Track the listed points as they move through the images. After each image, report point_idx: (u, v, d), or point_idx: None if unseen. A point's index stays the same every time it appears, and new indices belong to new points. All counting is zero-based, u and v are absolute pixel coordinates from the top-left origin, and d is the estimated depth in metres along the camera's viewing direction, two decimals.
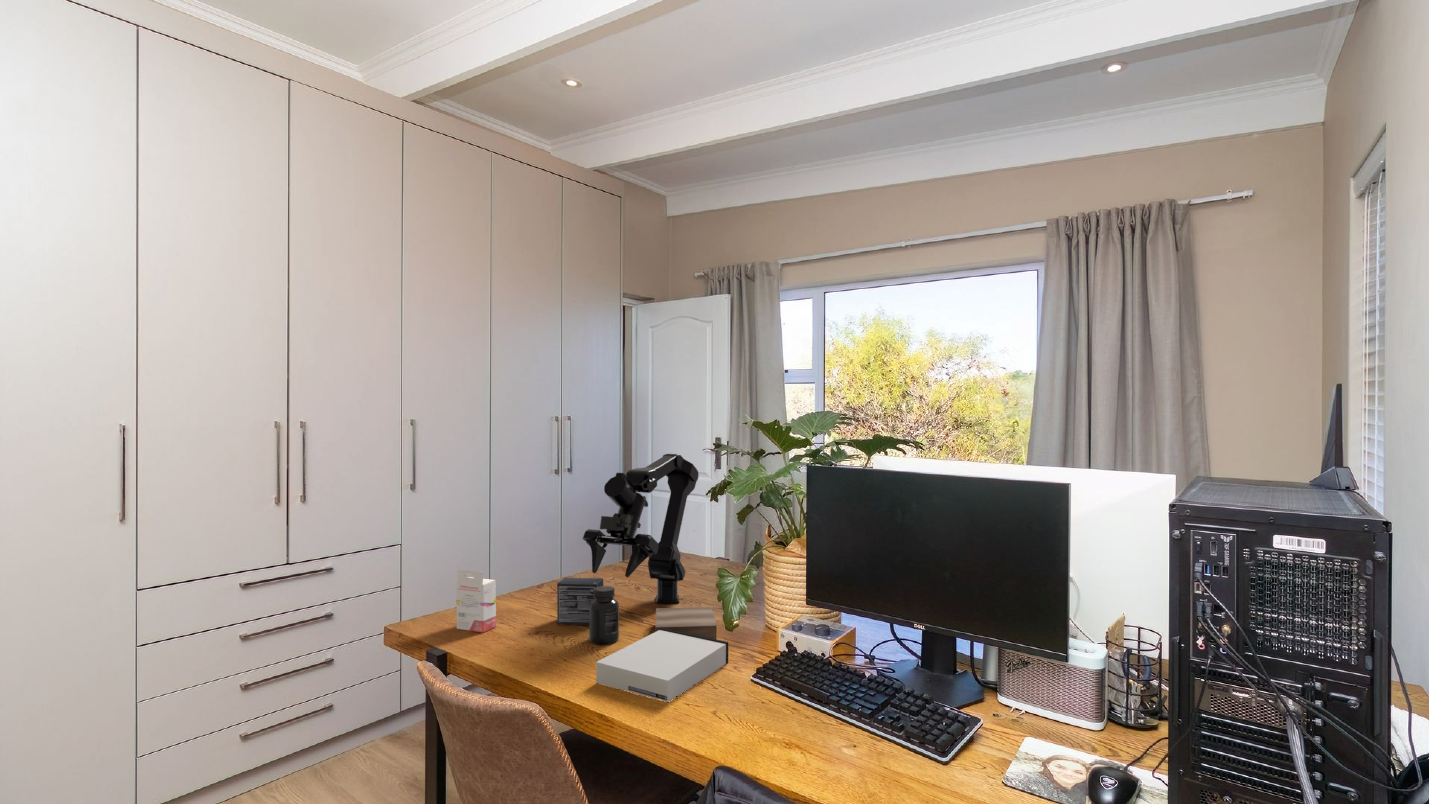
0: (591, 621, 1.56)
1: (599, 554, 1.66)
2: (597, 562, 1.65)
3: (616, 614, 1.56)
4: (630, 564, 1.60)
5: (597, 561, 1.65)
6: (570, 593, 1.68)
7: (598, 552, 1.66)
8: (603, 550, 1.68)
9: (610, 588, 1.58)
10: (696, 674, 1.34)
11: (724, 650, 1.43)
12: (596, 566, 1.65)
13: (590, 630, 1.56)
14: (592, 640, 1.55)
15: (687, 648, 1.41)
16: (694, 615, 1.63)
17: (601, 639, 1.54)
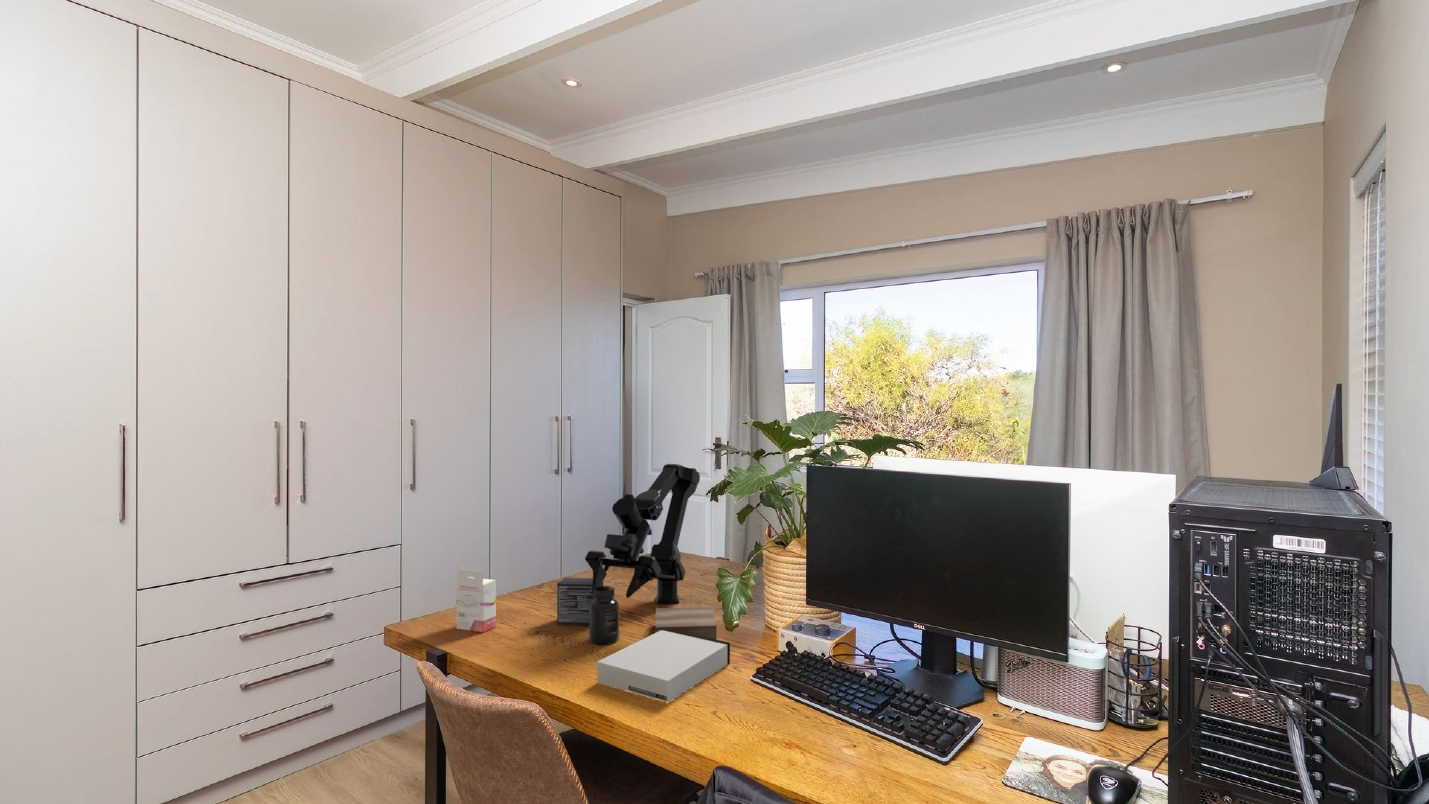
0: (591, 621, 1.56)
1: (600, 575, 1.65)
2: (597, 583, 1.64)
3: (616, 614, 1.56)
4: (632, 584, 1.59)
5: (598, 582, 1.64)
6: (570, 593, 1.68)
7: (599, 573, 1.65)
8: (604, 573, 1.68)
9: (610, 588, 1.58)
10: (697, 675, 1.33)
11: (725, 651, 1.43)
12: (596, 587, 1.63)
13: (590, 630, 1.56)
14: (592, 640, 1.55)
15: (689, 648, 1.41)
16: (694, 615, 1.63)
17: (601, 639, 1.54)
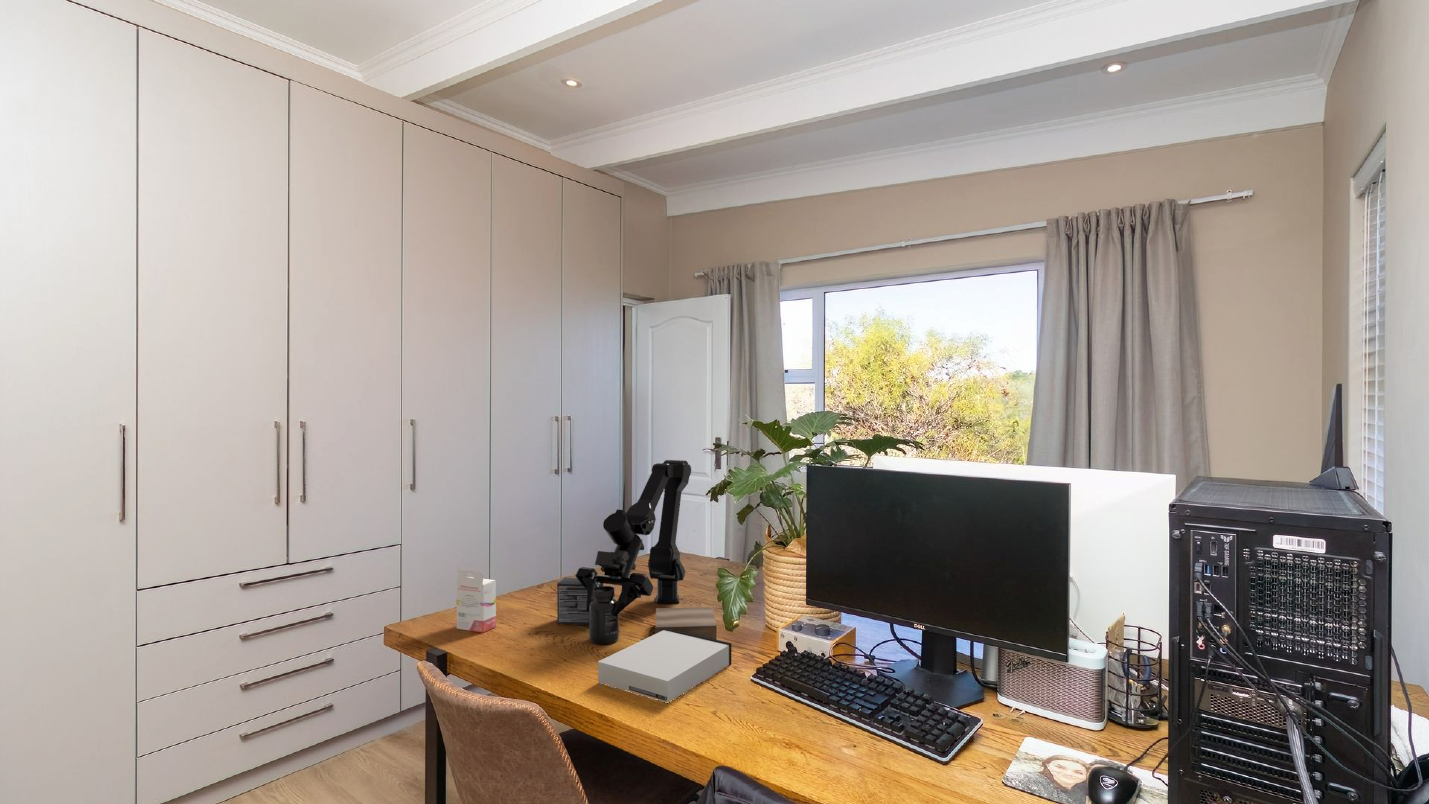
0: (591, 621, 1.56)
1: None
2: None
3: None
4: (619, 602, 1.56)
5: None
6: (570, 593, 1.68)
7: None
8: None
9: (610, 588, 1.58)
10: (697, 675, 1.33)
11: (727, 651, 1.43)
12: None
13: (590, 630, 1.56)
14: (592, 640, 1.55)
15: (690, 649, 1.41)
16: (694, 615, 1.63)
17: (601, 639, 1.54)
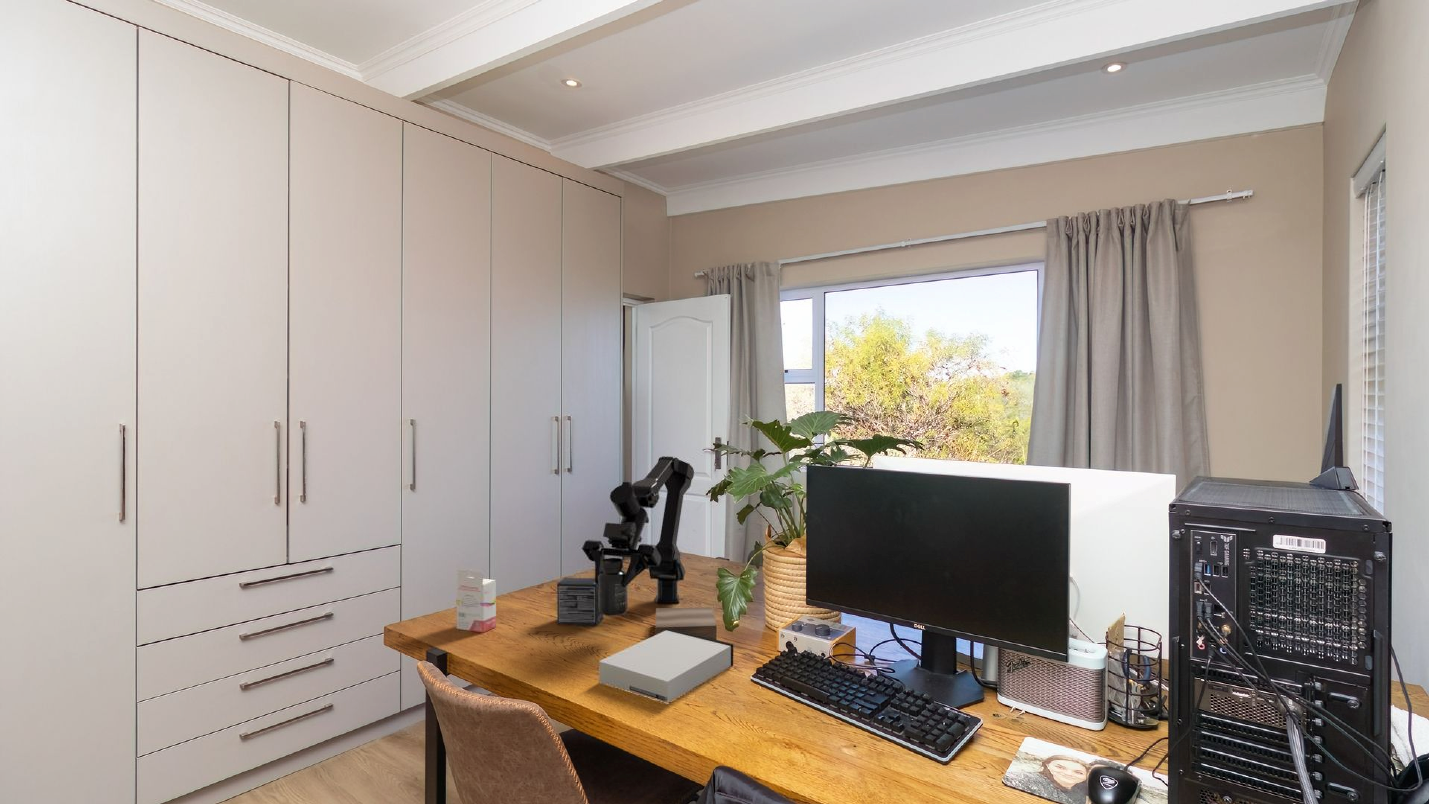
0: (600, 592, 1.56)
1: None
2: None
3: None
4: (628, 573, 1.56)
5: None
6: (570, 593, 1.68)
7: (601, 563, 1.61)
8: None
9: (618, 559, 1.58)
10: (698, 676, 1.33)
11: (729, 652, 1.42)
12: None
13: (599, 601, 1.56)
14: (601, 611, 1.55)
15: (691, 649, 1.40)
16: (694, 615, 1.63)
17: (611, 610, 1.55)
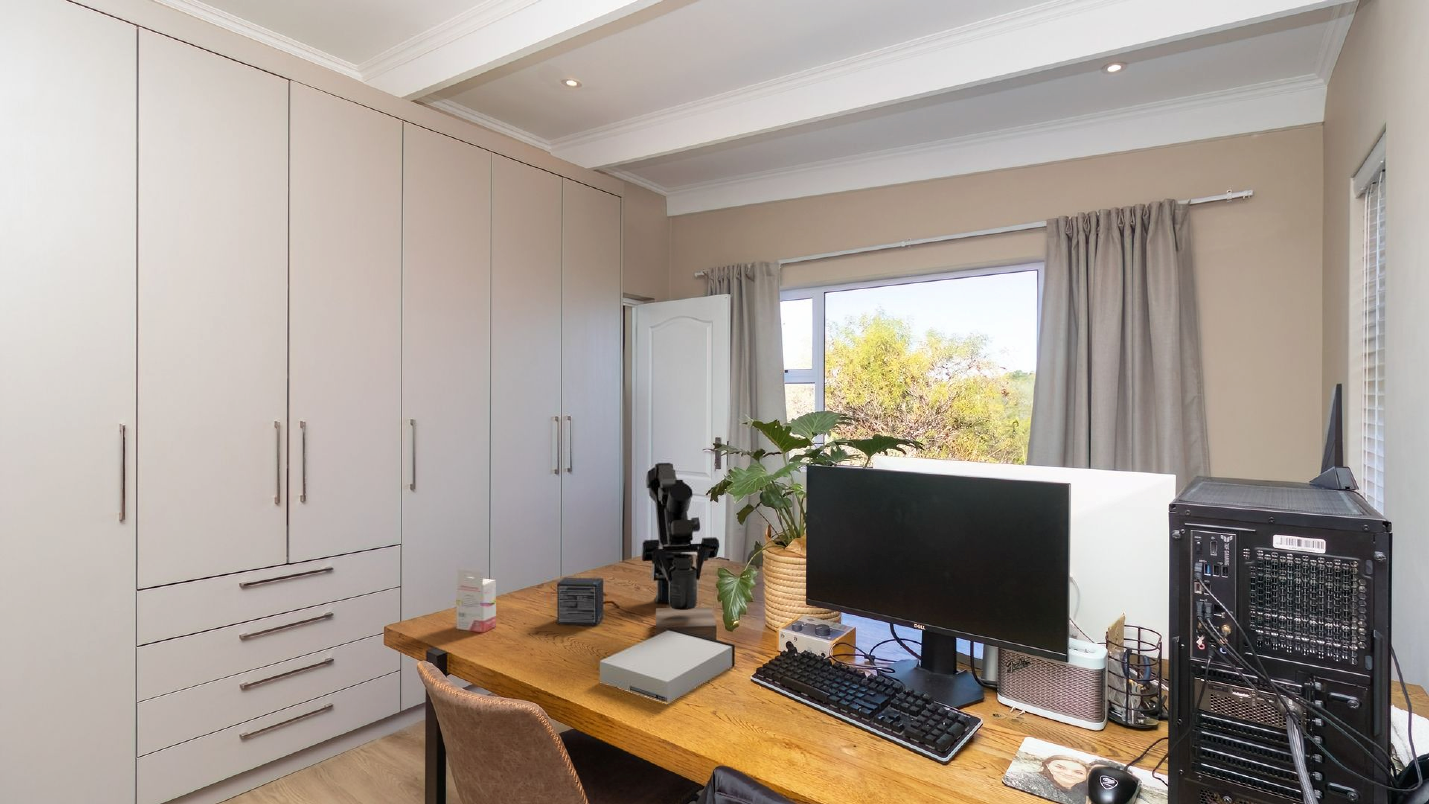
0: (679, 588, 1.59)
1: None
2: None
3: None
4: (700, 566, 1.63)
5: None
6: (570, 593, 1.68)
7: None
8: None
9: (687, 555, 1.63)
10: (699, 676, 1.33)
11: (730, 652, 1.42)
12: None
13: (676, 597, 1.59)
14: (680, 606, 1.59)
15: (692, 649, 1.40)
16: (694, 615, 1.63)
17: (690, 604, 1.59)
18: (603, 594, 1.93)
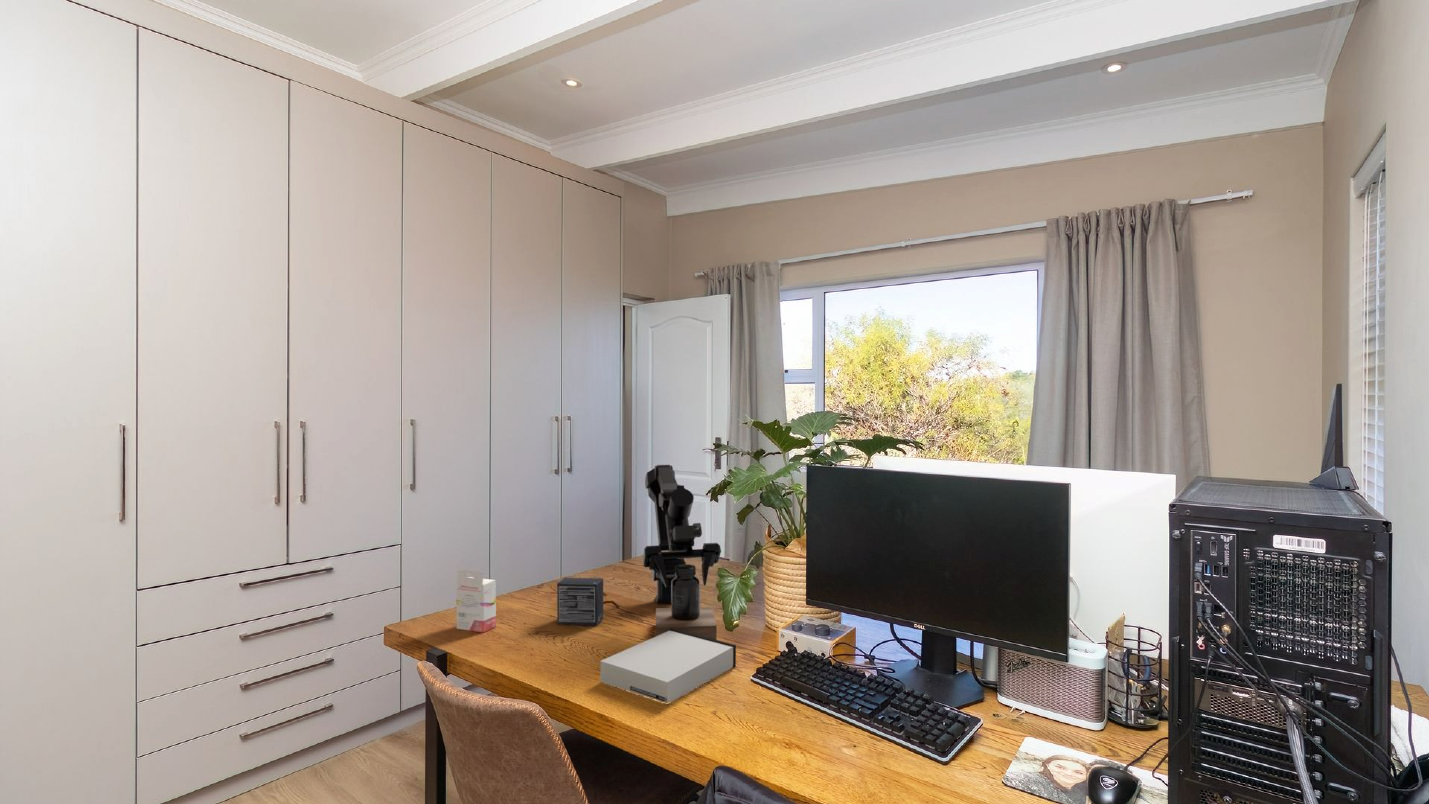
0: (682, 599, 1.59)
1: None
2: None
3: None
4: (706, 572, 1.63)
5: None
6: (570, 593, 1.68)
7: None
8: None
9: (690, 565, 1.64)
10: (699, 677, 1.32)
11: (731, 653, 1.42)
12: None
13: (679, 608, 1.59)
14: (683, 617, 1.59)
15: (693, 650, 1.40)
16: None
17: (693, 614, 1.60)
18: (603, 594, 1.93)
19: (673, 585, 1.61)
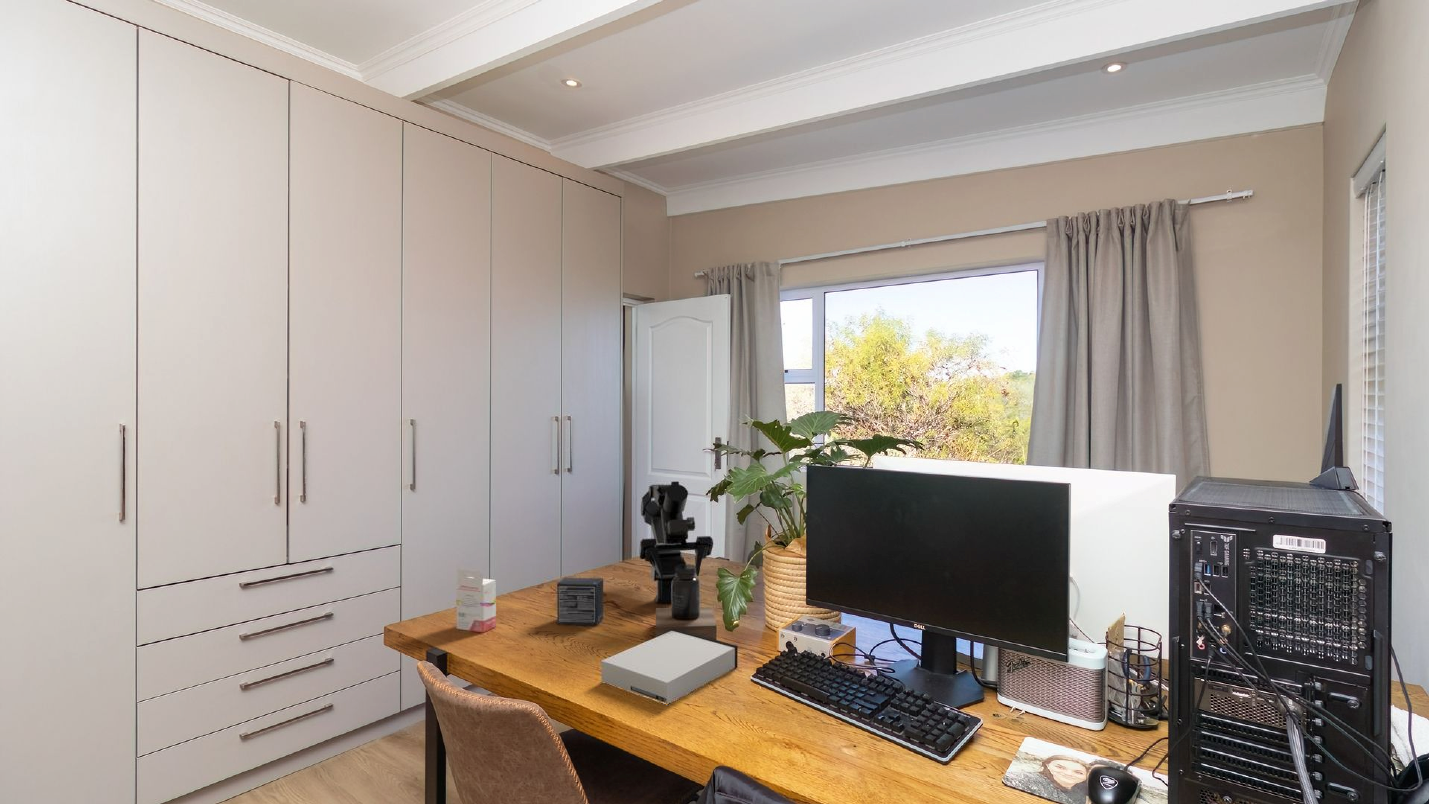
0: (682, 599, 1.59)
1: None
2: None
3: None
4: (699, 563, 1.72)
5: None
6: (570, 593, 1.68)
7: None
8: None
9: (690, 565, 1.64)
10: (700, 677, 1.32)
11: (733, 654, 1.41)
12: (661, 572, 1.70)
13: (679, 608, 1.59)
14: (683, 617, 1.59)
15: (695, 650, 1.40)
16: None
17: (693, 614, 1.60)
18: (603, 594, 1.93)
19: (673, 585, 1.61)
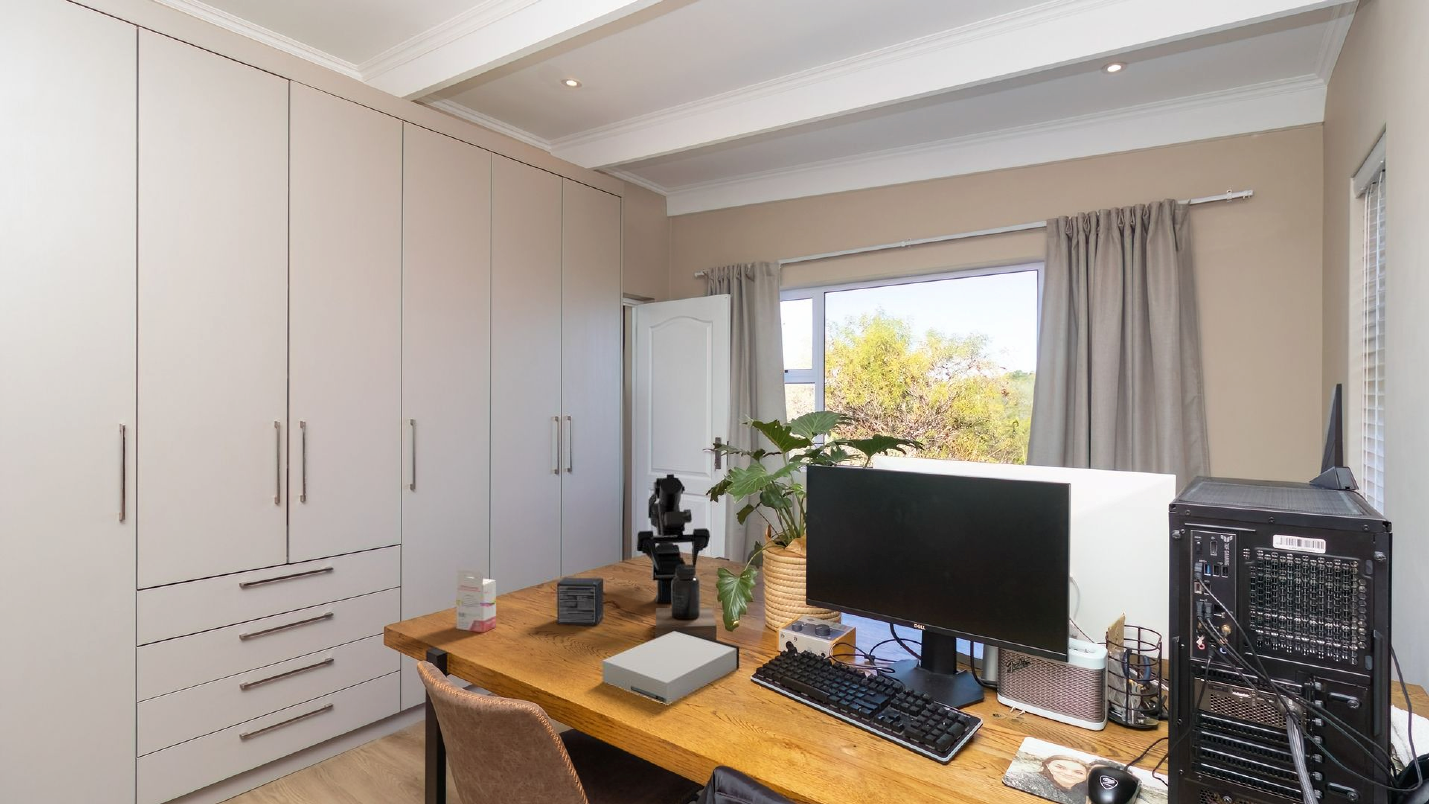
0: (682, 599, 1.59)
1: None
2: None
3: None
4: (696, 555, 1.73)
5: None
6: (570, 593, 1.68)
7: None
8: None
9: (690, 565, 1.64)
10: (700, 678, 1.32)
11: (734, 655, 1.41)
12: (658, 563, 1.71)
13: (679, 608, 1.59)
14: (683, 617, 1.59)
15: (696, 651, 1.40)
16: None
17: (693, 614, 1.60)
18: (603, 594, 1.93)
19: (673, 585, 1.61)
